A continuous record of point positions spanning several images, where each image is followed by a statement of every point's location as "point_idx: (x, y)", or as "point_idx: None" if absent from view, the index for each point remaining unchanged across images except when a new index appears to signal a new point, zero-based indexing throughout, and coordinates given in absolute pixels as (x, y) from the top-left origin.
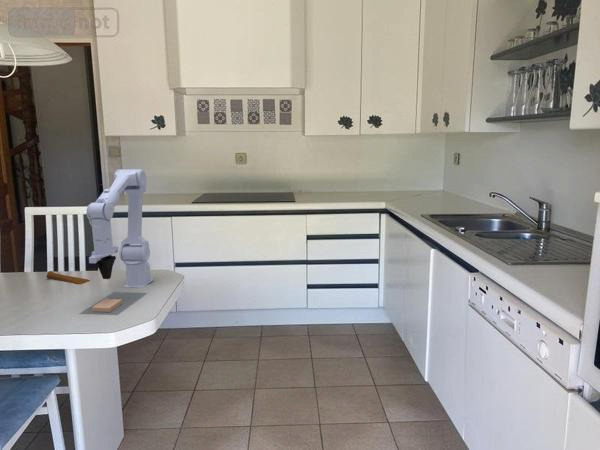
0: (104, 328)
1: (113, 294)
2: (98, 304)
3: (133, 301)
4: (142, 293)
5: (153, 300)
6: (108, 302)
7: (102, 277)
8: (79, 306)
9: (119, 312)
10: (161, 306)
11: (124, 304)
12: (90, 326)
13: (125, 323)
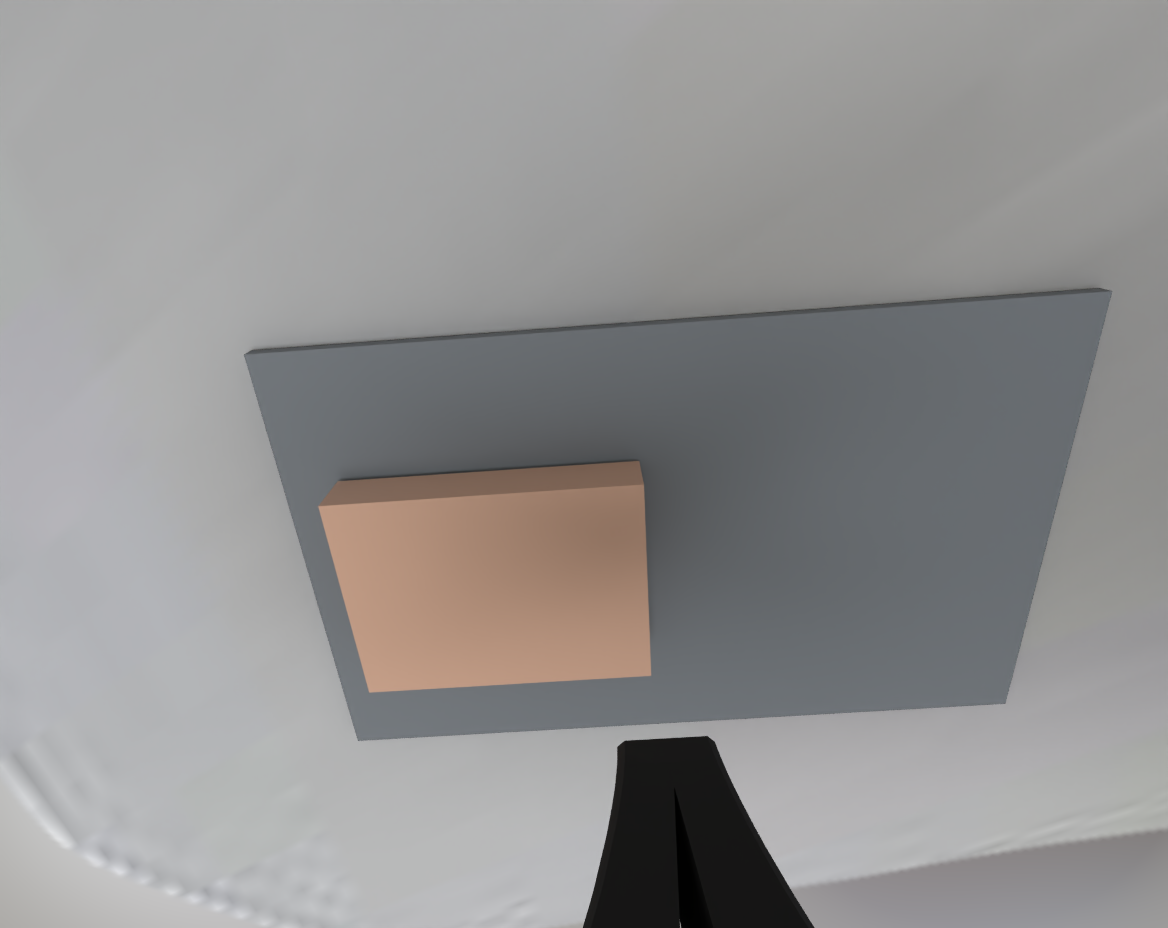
0: (101, 767)
1: (992, 351)
2: (430, 524)
3: (728, 697)
4: (991, 664)
5: (796, 808)
6: (521, 595)
7: (618, 770)
8: (513, 123)
9: (416, 726)
10: None
11: None
12: (72, 649)
13: (253, 845)
